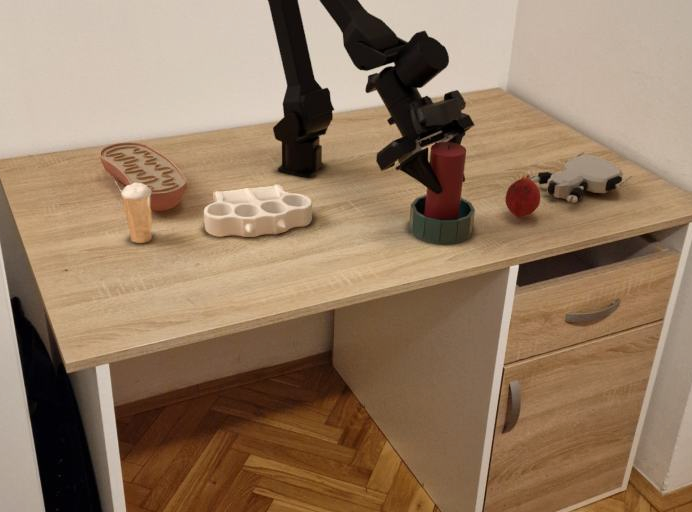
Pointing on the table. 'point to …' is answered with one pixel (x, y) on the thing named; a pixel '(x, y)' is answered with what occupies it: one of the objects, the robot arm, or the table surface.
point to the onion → (522, 197)
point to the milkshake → (138, 211)
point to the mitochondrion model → (145, 172)
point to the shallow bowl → (441, 224)
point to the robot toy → (581, 177)
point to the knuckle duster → (256, 212)
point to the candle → (446, 180)
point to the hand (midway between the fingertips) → (451, 187)
